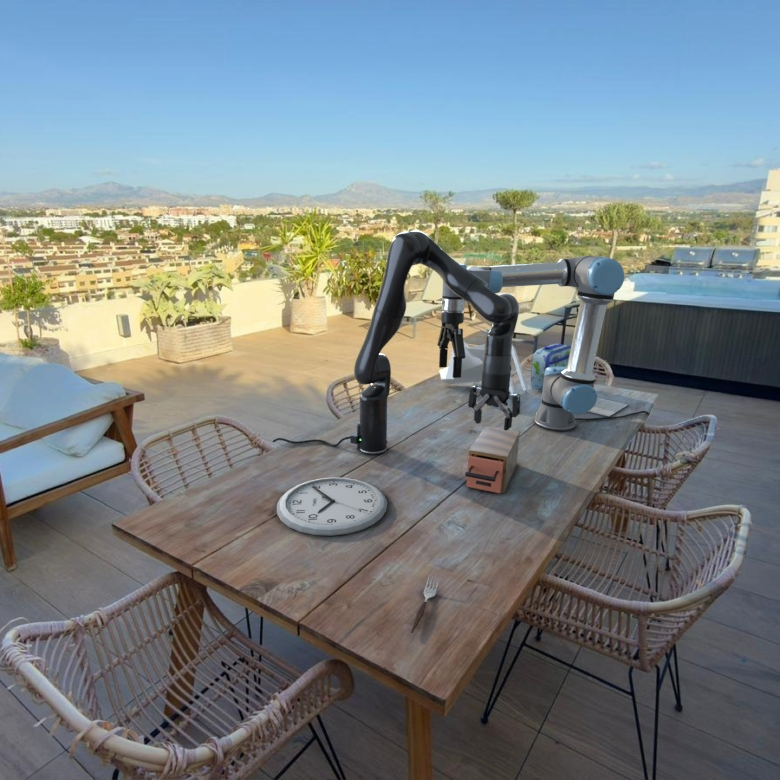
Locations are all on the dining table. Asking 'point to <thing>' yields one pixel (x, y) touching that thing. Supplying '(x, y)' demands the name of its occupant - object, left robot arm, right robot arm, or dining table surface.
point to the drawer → (485, 473)
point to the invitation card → (606, 407)
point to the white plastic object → (478, 368)
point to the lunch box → (548, 362)
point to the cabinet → (498, 449)
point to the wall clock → (331, 506)
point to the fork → (428, 594)
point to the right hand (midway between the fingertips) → (449, 372)
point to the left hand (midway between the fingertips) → (492, 426)
